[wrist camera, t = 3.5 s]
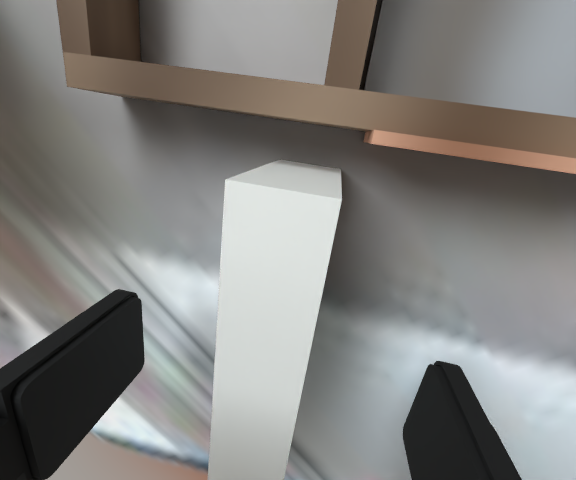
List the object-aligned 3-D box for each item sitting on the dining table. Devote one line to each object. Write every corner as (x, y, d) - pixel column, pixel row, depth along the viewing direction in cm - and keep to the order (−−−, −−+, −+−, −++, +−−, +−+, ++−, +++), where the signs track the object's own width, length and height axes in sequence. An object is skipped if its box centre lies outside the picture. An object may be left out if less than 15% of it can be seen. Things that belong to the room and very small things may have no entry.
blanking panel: (340, 168, 9) (341, 199, 5) (289, 425, 14) (263, 575, 9) (280, 158, 10) (225, 179, 5) (249, 414, 14) (203, 555, 9)
